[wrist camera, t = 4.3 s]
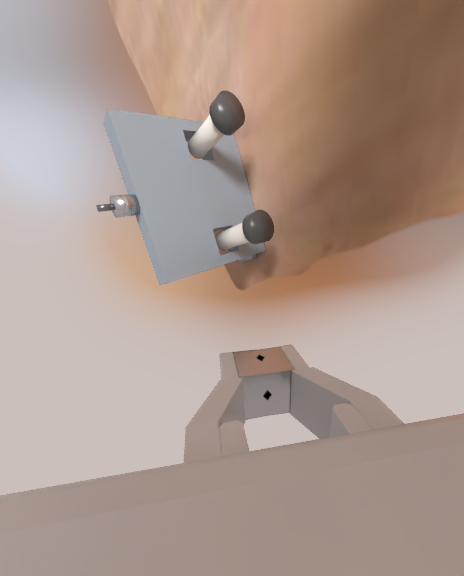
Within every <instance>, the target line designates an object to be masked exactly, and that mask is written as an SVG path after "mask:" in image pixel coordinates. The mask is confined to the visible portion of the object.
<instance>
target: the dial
mask: <svg viewBox="0 0 464 576" xmlns="http://www.w3.org/2000/svg"><path fill="white" fill-rule="evenodd" d="M97 209H98V211H99V212H100V211H109V210H112V212H113V214H114V216H115V217H125V216H132V215H139V214H140V204H139V201H138V198H137V197H136V195H135V194H128V195H114V196H110V204H104V205H97Z"/></svg>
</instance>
